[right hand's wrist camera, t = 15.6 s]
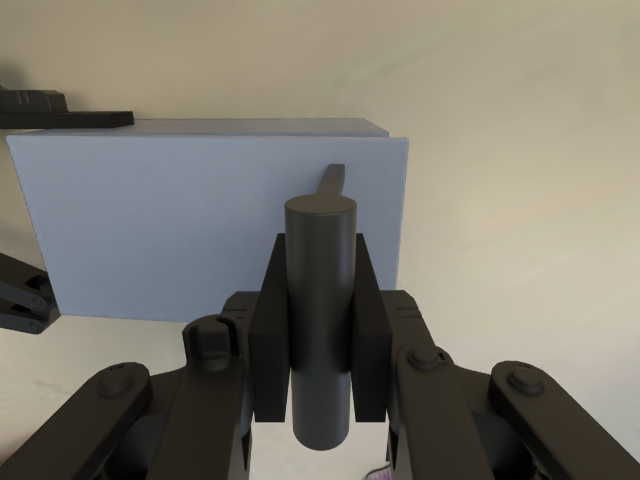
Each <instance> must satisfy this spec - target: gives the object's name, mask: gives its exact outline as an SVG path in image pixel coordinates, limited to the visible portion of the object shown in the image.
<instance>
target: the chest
mask: <svg viewBox="0 0 640 480" xmlns="http://www.w3.org/2000/svg"><path fill="white" fill-rule="evenodd" d="M25 133H29V134H127V135H225V136H323V137H389V132H387V131H385V130H384V129H382V128H380V127H378V126H376V125H374V124H373V123H371V122H369V121H367V120H365V119H134V125H128V126H123V127H117V128H101V129H47V130H40V131H32V132H25Z"/></svg>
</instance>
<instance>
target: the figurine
mask: <svg viewBox="0 0 640 480" xmlns="http://www.w3.org/2000/svg"><path fill="white" fill-rule="evenodd" d="M367 480H391V470H390V466H389V467H387V468H386V469H383V470H380V471H376V472H374V473H371V474H369V475H368V477H367Z"/></svg>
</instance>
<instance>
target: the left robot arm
mask: <svg viewBox="0 0 640 480" xmlns="http://www.w3.org/2000/svg"><path fill="white" fill-rule="evenodd" d="M128 125H134V118H133V113H132V111H95V112H68V109H67V104H66V100H65V96H64V94H62V93H60V92H57V91H54V90H8V89H5V88H4V87H2V86H1V85H0V129H101V128H117V127H123V126H128ZM60 316H61V314H60V311H59V308H58V305H57V301H56V298H55V295H54V292H53V289H52V285H51V282H50V279H49V276H48V272H46V271H43V270H41V269H38V268H36V267H34V266H31V265H29V264H26V263H24V262H22V261H19V260H17V259H14V258H12V257H9V256H7V255H5V254H2V253H0V328H5V329H10V330H15V331H20V332H25V333H30V334H41V333H42V332H43V331H44V330H45V329H46V328H48V327H49V326H50V325H51V324H52V323H53V322H54V321H56V320H57V319H58V318H59V317H60Z"/></svg>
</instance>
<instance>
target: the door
mask: <svg viewBox="0 0 640 480" xmlns="http://www.w3.org/2000/svg"><path fill="white" fill-rule="evenodd" d="M5 137H6V141H7V144H8V147H9V150H10V153H11V157H12V160H13V163H14V166H15V170H16V173H17V176H18V179H19V182H20V186H21V189H22V192H23V195H24V198H25V202H26V205H27V208H28V211H29V215H30V218H31V221H32V224H33V227H34V231H35V234H36V237H37V240H38V244H39V247H40V250H41V253H42V256H43V260H44V263H45V266H46V269H47V272H48V276H49V279H50V282H51V285H52V289H53V292H54V295H55V298H56V301H57V305H58V308H59V311H60V314H61V315H75V316H91V317H106V318H122V319H138V320H153V321H169V322H185V323H191V322H192V321H194V320H195V319H198V318H201V317H204V316H207V315H213V314H220V313H221V311H222V309H223V306H224V304H225V302H226V300H227V299H228V298H229V297H230V296H231V295H233V294H234V293H235V292H236V291H260V290H261V287H262V284H263V280H264V277H265V274H266V270H267V267H268V264H269V260H270V257H271V254H272V250H273V247H274V244H275V240H276V237H277V234H278V233H285V238H286V263H287V288H288V313H289V339H290V364H291V389H292V414H293V431H294V434H295V436H296V438H297V439H298V441H299V442H300V443H301V444H302V445H304V446H305V447H307V448H309V449H312V450H317V451H324V450H330V449H333V448H335V447H337V446H338V445H340V444H341V443H342V442H343V441H344V440H345V438H346V436H347V434H348V431H349V414H350V388H351V373H350V366H351V340H352V313H353V292H354V281H355V254H356V233H363V236H364V239H365V243H366V246H367V249H368V253H369V256H370V259H371V263H372V266H373V269H374V273H375V276H376V279H377V283H378V286H379V289H380V290H396V286H397V274H398V262H399V251H400V239H401V228H402V216H403V204H404V193H405V181H406V169H407V158H408V146H409V140H408V139H407V138H405V137H323V136H225V135H127V134H29V133H19V134H11V135H6V136H5Z"/></svg>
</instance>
